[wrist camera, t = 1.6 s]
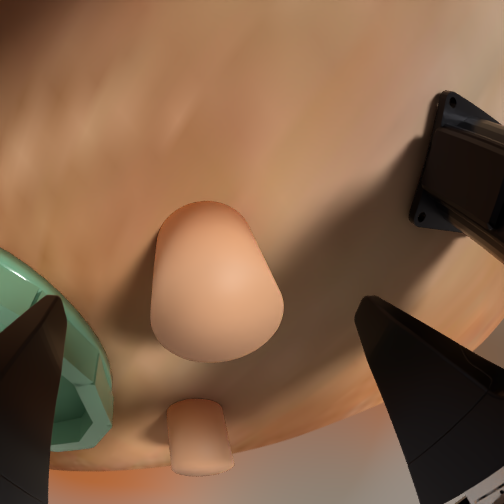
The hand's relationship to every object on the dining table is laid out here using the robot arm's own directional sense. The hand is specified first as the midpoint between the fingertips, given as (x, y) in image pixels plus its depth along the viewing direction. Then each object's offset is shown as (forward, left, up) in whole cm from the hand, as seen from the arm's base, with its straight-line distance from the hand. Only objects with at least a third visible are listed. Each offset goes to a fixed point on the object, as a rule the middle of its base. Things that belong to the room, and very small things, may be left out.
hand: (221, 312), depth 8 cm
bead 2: (0, +12, -4) cm, 13 cm away
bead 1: (0, 0, -4) cm, 4 cm away
